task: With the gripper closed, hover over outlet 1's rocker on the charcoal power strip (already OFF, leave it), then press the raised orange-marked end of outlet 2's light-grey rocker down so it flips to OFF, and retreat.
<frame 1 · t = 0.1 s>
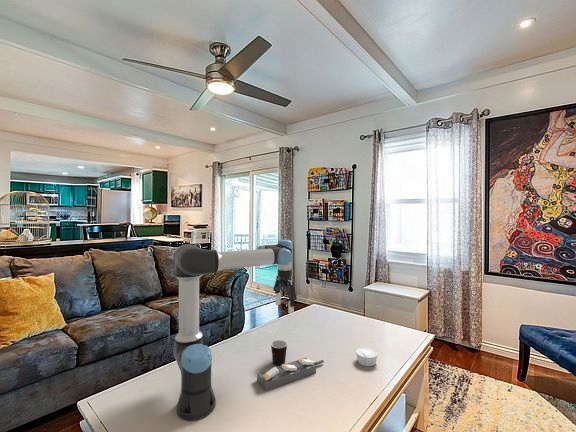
hand: (284, 308, 152), 28 cm above the table, fingers open, 13 cm apart
rocker 1: (270, 373, 131), point 5 cm above the table, hinge at -18.0°
rocker 3: (306, 361, 142), point 5 cm above the table, hinge at 18.0°
rocker 2: (289, 367, 136), point 5 cm above the table, hinge at 18.0°
ramekin: (366, 362, 152), on the table
coffee mug: (279, 361, 152), on the table
power strip: (287, 376, 138), on the table
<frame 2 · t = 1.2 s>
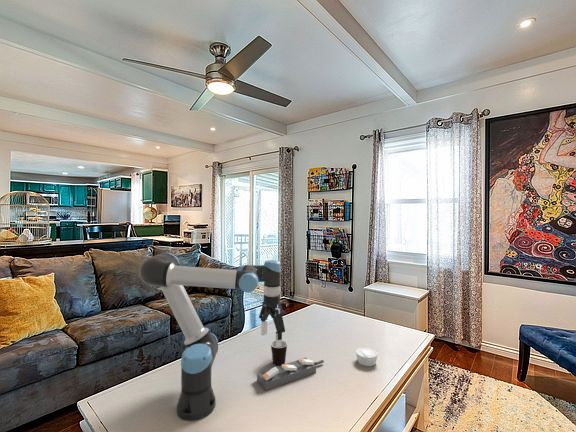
hand: (271, 340, 131), 20 cm above the table, fingers open, 13 cm apart
nothing on the table moved.
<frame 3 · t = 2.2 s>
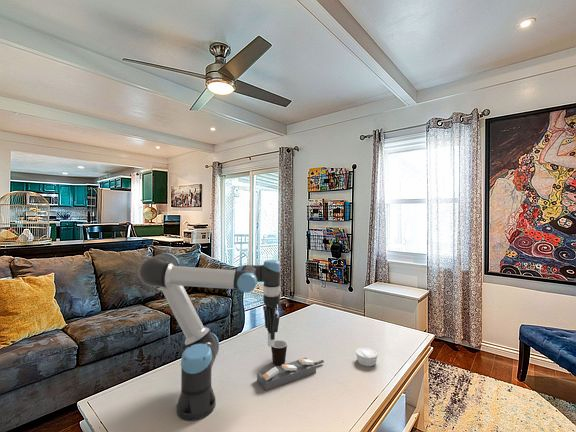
hand: (271, 345, 131), 18 cm above the table, fingers closed
nothing on the table moved.
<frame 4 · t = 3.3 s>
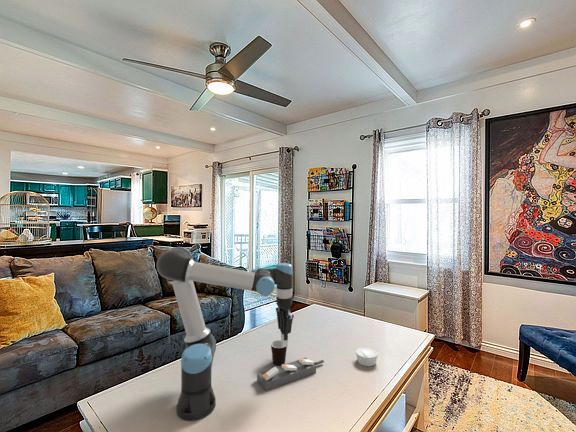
hand: (284, 346, 134), 16 cm above the table, fingers closed
nothing on the table moved.
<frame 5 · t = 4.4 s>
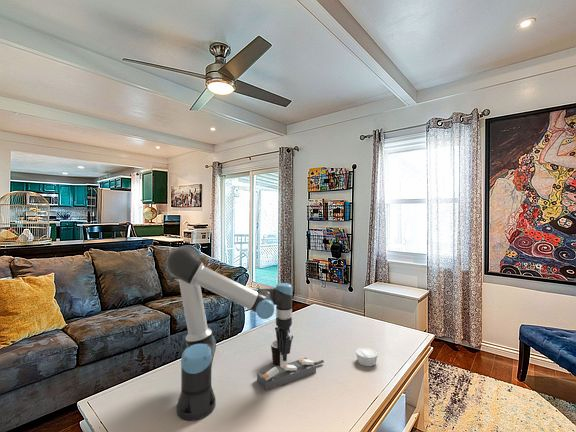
hand: (283, 366, 135), 7 cm above the table, fingers closed
rocker 2: (289, 367, 136), point 5 cm above the table, hinge at 17.6°, touching gripper
everything else where it was.
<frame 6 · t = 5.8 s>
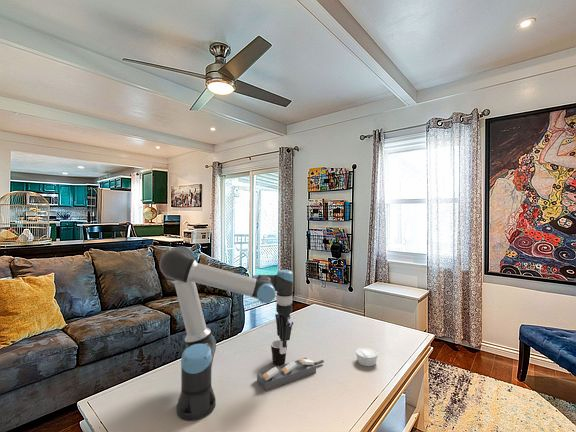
hand: (282, 352, 134), 13 cm above the table, fingers closed
rocker 1: (270, 373, 131), point 5 cm above the table, hinge at -16.1°
rocker 2: (289, 367, 136), point 5 cm above the table, hinge at -20.6°
everything else where it was.
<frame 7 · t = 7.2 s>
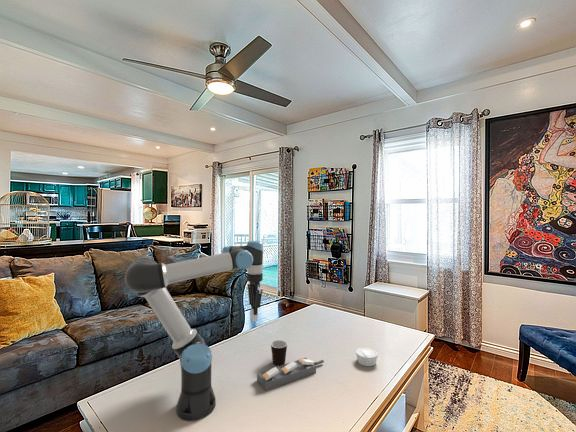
hand: (254, 320, 139), 26 cm above the table, fingers closed
rocker 1: (270, 373, 131), point 5 cm above the table, hinge at -14.4°
rocker 2: (289, 367, 136), point 5 cm above the table, hinge at -14.3°
everything else where it was.
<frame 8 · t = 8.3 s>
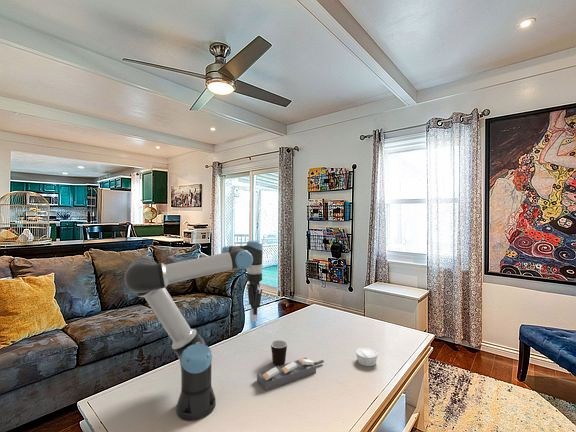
hand: (254, 320, 140), 26 cm above the table, fingers closed
rocker 1: (270, 373, 131), point 5 cm above the table, hinge at -13.7°
rocker 2: (289, 367, 136), point 5 cm above the table, hinge at -11.9°
everything else where it was.
at the end: rocker 2 at -12° (first picture: +18°); rocker 1 at -14° (first picture: -18°); rocker 3 at +18° (first picture: +18°) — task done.
